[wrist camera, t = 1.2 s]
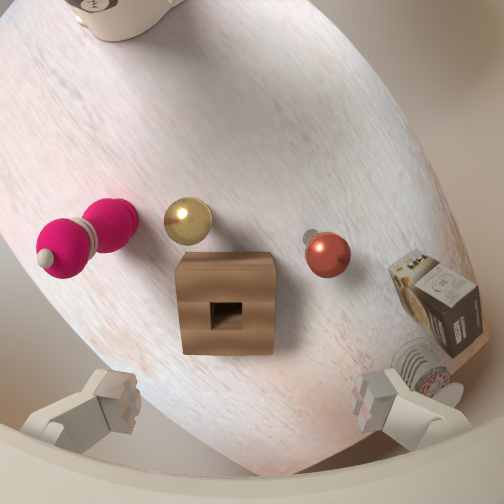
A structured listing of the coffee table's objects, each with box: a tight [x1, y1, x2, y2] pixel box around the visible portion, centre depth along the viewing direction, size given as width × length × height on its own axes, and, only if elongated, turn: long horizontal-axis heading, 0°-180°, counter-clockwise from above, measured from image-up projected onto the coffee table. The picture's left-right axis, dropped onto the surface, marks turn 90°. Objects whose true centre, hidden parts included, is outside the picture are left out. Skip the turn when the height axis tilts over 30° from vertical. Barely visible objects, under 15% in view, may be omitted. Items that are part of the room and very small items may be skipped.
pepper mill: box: [36, 198, 138, 279], centre depth 31 cm, size 7×7×20 cm
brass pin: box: [164, 197, 212, 246], centre depth 36 cm, size 5×5×9 cm
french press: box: [391, 338, 464, 408], centre depth 38 cm, size 10×12×25 cm
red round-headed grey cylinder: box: [303, 229, 351, 278], centre depth 38 cm, size 5×5×9 cm
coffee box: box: [389, 249, 483, 359], centre depth 37 cm, size 9×6×16 cm
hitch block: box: [175, 252, 277, 356], centre depth 40 cm, size 12×12×8 cm
